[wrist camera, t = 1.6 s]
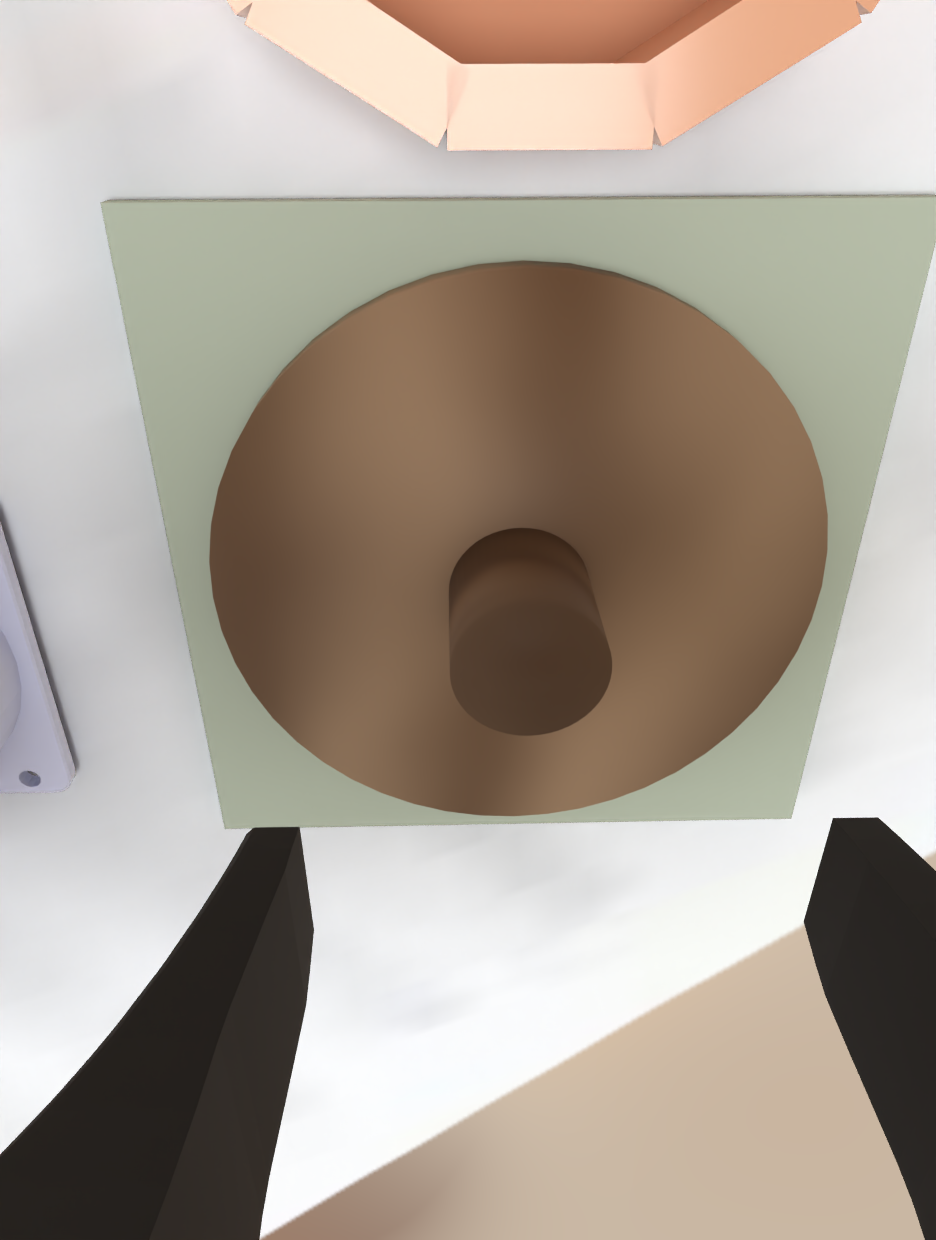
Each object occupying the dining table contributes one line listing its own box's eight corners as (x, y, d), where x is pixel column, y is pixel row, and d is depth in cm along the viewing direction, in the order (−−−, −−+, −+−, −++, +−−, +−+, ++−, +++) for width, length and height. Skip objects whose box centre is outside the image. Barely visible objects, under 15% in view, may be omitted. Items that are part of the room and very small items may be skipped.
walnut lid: (259, 799, 23) (229, 919, 20) (165, 264, 16) (97, 312, 13) (760, 788, 23) (812, 905, 20) (877, 256, 16) (984, 300, 13)
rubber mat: (227, 818, 24) (224, 828, 23) (108, 200, 16) (100, 202, 16) (786, 807, 24) (791, 818, 24) (936, 195, 16) (946, 197, 16)
